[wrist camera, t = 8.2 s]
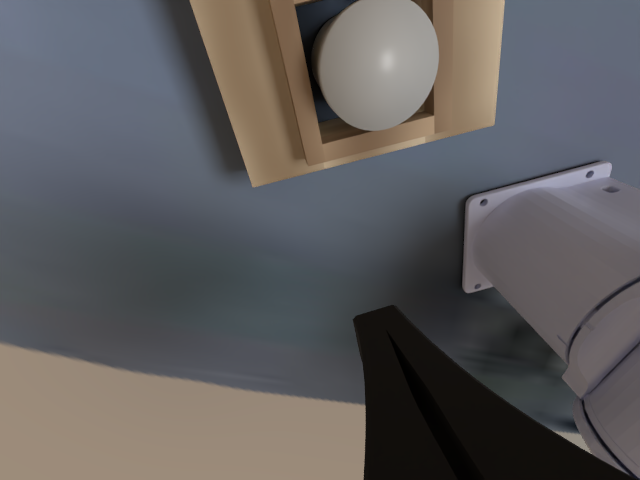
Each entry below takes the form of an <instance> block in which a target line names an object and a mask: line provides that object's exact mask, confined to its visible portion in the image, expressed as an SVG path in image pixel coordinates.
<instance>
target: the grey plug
mask: <svg viewBox="0 0 640 480" xmlns="http://www.w3.org/2000/svg"><path fill="white" fill-rule="evenodd" d="M438 63H439V47H438V40H437V36H436V33H435V29H434V27H433V25H432V23H431V21H430V19H429V18H428V16H427V15H426V13H425V12H424V11H423V10H422V9H421V8H420V7H419V6H418V5H417V4H415V3H414V2H413V1H411V0H358V1H356V2H354V3H352V4H350V5H349V6H348V7H346V8H345V9H344V10H343V11H341V12H340V13H339V14H338V15H336V16H334V17H332V18H331V19H329V20H328V21H327V22H326V23H325V24H324V25H323V27H322V28H321V29H320V31H319V32H318V34H317V36H316V38H315V41H314V44H313V47H312V53H311V66H312V72H313V75H314V78H315V80H316V82H317V84H318V86H319V87H320V89H321V91H322V94H323V96H324V98H325V100H326V102H327V103H328V105H329V106H330V107H331V109H332V110H333V111H334V112H335V113H336V114H337V115H338V116H339V117H340V118H341V119H342V120H344V121H345V122H346V123H348V124H350V125H351V126H354V127H356V128H359V129H363V130H369V131H379V130H385V129H389V128H392V127H394V126H396V125H399V124H401V123H402V122H404V121H405V120H407V119H408V118H409V117H411V116H412V115H413V114H414V113H415V112H416V111H417V110H418V109H419V108H420V106H421V105H422V104H423V103H424V101H425V100H426V98H427V97H428V95H429V93H430V91H431V89H432V86H433V84H434V81H435V78H436V74H437V70H438Z"/></svg>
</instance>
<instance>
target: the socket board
mask: <svg viewBox="0 0 640 480" xmlns="http://www.w3.org/2000/svg"><path fill="white" fill-rule="evenodd" d="M318 1H322V0H190V3H191V6H192V9H193V12H194V15H195V18H196V21H197V24H198V27H199V30H200V33H201V36H202V39H203V41H204V44H205V47H206V50H207V53H208V56H209V59H210V62H211V65H212V68H213V71H214V74H215V77H216V80H217V83H218V86H219V89H220V92H221V95H222V98H223V101H224V104H225V107H226V110H227V113H228V115H229V118H230V121H231V124H232V127H233V130H234V133H235V136H236V139H237V142H238V145H239V148H240V151H241V154H242V157H243V160H244V163H245V166H246V169H247V172H248V175H249V178H250V181H251V184H252V186H253V187H257V186H261V185H265V184H268V183H272V182H276V181H280V180H284V179H288V178H292V177H295V176H299V175H303V174H307V173H311V172H315V171H319V170H323V169H326V168H330V167H334V166H338V165H342V164H346V163H350V162H354V161H357V160H361V159H365V158H369V157H373V156H377V155H381V154H384V153H388V152H392V151H396V150H400V149H404V148H408V147H412V146H415V145H419V144H423V143H427V142H431V141H435V140H439V139H443V138H446V137H450V136H454V135H458V134H462V133H466V132H470V131H474V130H477V129H481V128H485V127H489V126H493V125H494V124H495V112H496V100H497V88H498V76H499V64H500V52H501V40H502V28H503V15H504V3H505V0H411V1H413V2H414V3H415V4H417V5H418V6H419V7H420V8H421V9H422V10H423V11H424V12H425V13H426V15H427V16H428V18H429V19H430V21H431V23H432V25H433V27H434V29H435V33H436V36H437V40H438V47H439V63H438V70H437V74H436V78H435V81H434V84H433V86H432V89H431V91H430V93H429V95H428V97H427V98H426V100H425V101H424V103H423V104H422V105H421V106H420V108H419V109H418V110H417V111H416V112H415V113H414V114H413V115H412V116H411V117H409V118H408V119H407V120H405V121H404V122H402V123H401V124H399V125H396V126H394V127H392V128H389V129H385V130H379V131H369V130H363V129H359V128H356V127H354V126H351V125H350V124H348V123H346V122H345V121H344V120H342V119H341V118H336V119H332V120H328V121H324V122H320V123H318V120H317V115H316V110H315V105H314V100H313V95H312V90H311V85H310V80H309V75H308V70H307V65H306V60H305V55H304V50H303V45H302V40H301V35H300V30H299V25H298V20H297V15H296V10H295V7H297V6H301V5H305V4H309V3H314V2H318Z"/></svg>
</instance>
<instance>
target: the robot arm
mask: <svg viewBox="0 0 640 480" xmlns="http://www.w3.org/2000/svg"><path fill="white" fill-rule="evenodd" d="M611 169H612V165H611V163H609V162H606V161H601V162H597V163H593V164H589V165H586V166H582V167H578V168H574V169H571V170H567V171H563V172H559V173H555V174H552V175H548V176H544V177H540V178H537V179H533V180H529V181H525V182H522V183H518V184H514V185H510V186H507V187H503V188H499V189H495V190H491V191H488V192H484V193H480V194H476V195H473V196H471V197H470V198H468V200H467V201H466V208H465V232H464V256H463V280H462V288H463V290H464V291H465V292H466V293H472V292H475V291H479V290H483V289H486V288H490V287H495V288H496V289H497V290H498V291H499V292H500V294H501V295H502V296H503V297H504V298H505V299H506V300H507V301H508V302H509V303H510V304H511V305H512V306H513V307H514V308H515V309H516V310H517V312H518V313H519V314H520V315H521V316H522V317H523V318H524V319H525V320H526V321H527V322H528V323H529V324H530V325H531V326H532V327H533V328H534V330H535V331H536V332H537V333H538V334H539V335H540V336H541V337H542V338H543V339H544V340H545V341H546V342H547V343H548V344H549V345H550V347H551V348H552V349H553V350H554V351H555V352H556V353H557V354H558V355H559V356H560V357H561V358H562V359H563V360H564V361H565V362H566V363H567V365H568V368H567V370H566V372H565V373H564V374H563V376H562V378H563V380H564V381H565V382H566V383H567V384H568V385H569V386H570V387H571V389H572V390H573V391H574V392H575V393H576V394H577V396H576V398H575V400H574V402H573V407H572V410H573V417H574V420H575V423H576V426H577V428H578V430H579V432H580V434H581V436H582V438H583V439H584V441H585V443H586V445H587V447H588V448H589V450H590V452H591V453H592V454H593V455H592V454H590V453H588V452H587V451H585V450H583V449H581V448H580V447H578V446H576V445H575V444H573V443H572V442H570V441H568V440H567V439H565V438H563V437H562V436H560V435H558V434H557V433H555V432H553V431H552V430H550V429H548V428H547V427H545V426H543V425H542V424H540V423H538V422H537V421H535V420H534V419H532V418H531V417H529V416H528V415H526V414H525V413H523V412H522V411H520V410H519V409H517V408H516V407H514V406H513V405H511V404H510V403H508V402H507V401H505V400H504V399H503V398H501V397H500V396H498V395H497V394H496V393H494V392H493V391H491V390H490V389H489V388H487V387H486V386H485V385H483V384H482V383H481V382H479V381H478V380H477V379H475V378H474V377H473V376H472V375H470V374H469V373H468V372H467V371H465V370H464V369H463V368H461V367H460V366H459V365H458V364H457V363H455V362H454V361H453V360H452V359H451V358H449V357H448V356H447V355H446V354H445V353H444V352H443V351H441V350H440V349H439V348H438V347H437V346H436V345H435V344H433V343H432V342H431V341H430V340H429V339H428V338H427V337H426V336H425V335H424V334H423V333H422V332H421V331H420V330H419V329H417V328H416V327H415V326H414V325H413V324H412V323H411V322H410V321H409V320H408V319H407V318H406V316H405V315H404V314H403V313H402V312H401V311H400V310H399V309H398V308H397V307H396V306H394V305H390V306H387V307H384V308H380V309H377V310H374V311H371V312H367V313H364V314H361V315H357V316H355V318H354V319H353V322H354V327H355V332H356V337H357V342H358V347H359V351H360V356H361V359H362V362H363V370H364V380H365V405H366V439H365V441H366V442H365V466H364V480H640V190H639V189H637V188H634V187H632V186H629V185H627V184H625V183H622V182H620V181H617V180H615V179H612V178H610V177H609V176H610V172H611ZM483 199H484V201H483V202H482V203H481V204H480V202H481V201H482V200H483ZM476 284H477V285H476Z"/></svg>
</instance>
